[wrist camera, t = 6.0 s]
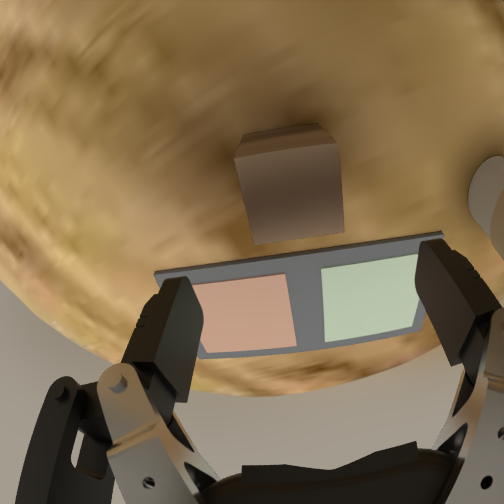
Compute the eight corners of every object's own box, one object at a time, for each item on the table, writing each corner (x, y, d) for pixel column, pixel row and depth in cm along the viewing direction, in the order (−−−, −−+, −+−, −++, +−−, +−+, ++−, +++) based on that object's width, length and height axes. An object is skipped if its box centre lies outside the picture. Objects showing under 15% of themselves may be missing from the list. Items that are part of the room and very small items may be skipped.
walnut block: (243, 134, 18) (233, 158, 13) (317, 123, 17) (337, 142, 12) (258, 200, 21) (254, 245, 16) (325, 190, 20) (344, 232, 15)
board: (155, 271, 25) (152, 276, 25) (441, 231, 21) (444, 235, 20) (200, 355, 32) (199, 360, 32) (418, 327, 28) (420, 331, 28)
